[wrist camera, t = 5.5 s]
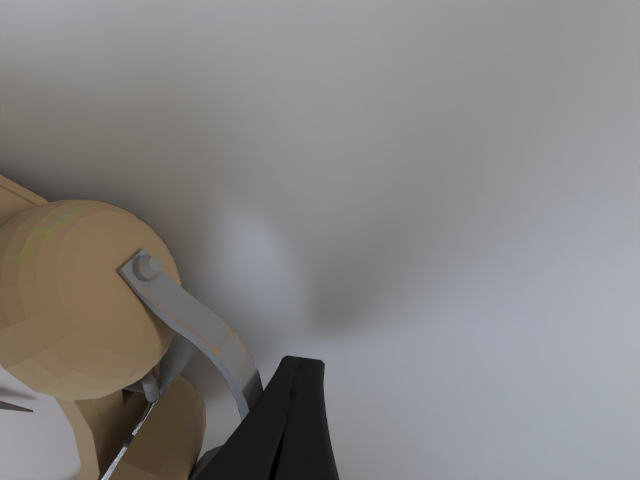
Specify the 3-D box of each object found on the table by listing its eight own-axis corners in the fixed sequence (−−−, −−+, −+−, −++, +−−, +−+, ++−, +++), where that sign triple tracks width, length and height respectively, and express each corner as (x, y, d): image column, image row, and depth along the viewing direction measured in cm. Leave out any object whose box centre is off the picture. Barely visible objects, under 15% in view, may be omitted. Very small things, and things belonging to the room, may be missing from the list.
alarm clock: (-424, 172, 10) (137, 295, 6) (-157, 120, 14) (279, 171, 10) (-157, 475, 15) (225, 646, 11) (-22, 374, 19) (293, 473, 15)
